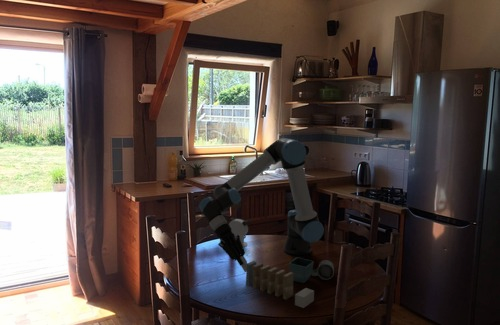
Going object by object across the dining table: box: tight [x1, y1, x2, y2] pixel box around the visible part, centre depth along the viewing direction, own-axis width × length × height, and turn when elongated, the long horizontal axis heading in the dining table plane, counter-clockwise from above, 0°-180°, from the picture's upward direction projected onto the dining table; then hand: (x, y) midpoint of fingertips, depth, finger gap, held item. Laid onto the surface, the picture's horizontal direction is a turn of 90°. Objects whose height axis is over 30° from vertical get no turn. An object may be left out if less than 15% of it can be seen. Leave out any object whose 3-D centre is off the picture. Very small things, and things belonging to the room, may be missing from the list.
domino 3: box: [259, 264, 271, 292], centre depth 178 cm, size 2×5×10 cm, turn 141°
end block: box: [294, 287, 315, 309], centre depth 166 cm, size 4×8×4 cm, turn 141°
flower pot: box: [288, 257, 315, 284], centre depth 187 cm, size 9×9×9 cm
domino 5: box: [274, 269, 286, 298], centre depth 173 cm, size 2×5×10 cm, turn 141°
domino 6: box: [282, 271, 294, 301], centre depth 171 cm, size 2×5×10 cm, turn 141°
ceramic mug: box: [311, 259, 335, 281], centre depth 193 cm, size 11×8×8 cm
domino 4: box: [267, 267, 279, 295], centre depth 176 cm, size 2×5×10 cm, turn 141°
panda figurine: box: [228, 217, 250, 248], centre depth 235 cm, size 12×11×15 cm
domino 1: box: [245, 260, 258, 287], centre depth 183 cm, size 2×5×10 cm, turn 141°
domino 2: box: [252, 262, 264, 290], centre depth 181 cm, size 2×5×10 cm, turn 141°
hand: (247, 270), depth 184 cm, fingers closed
